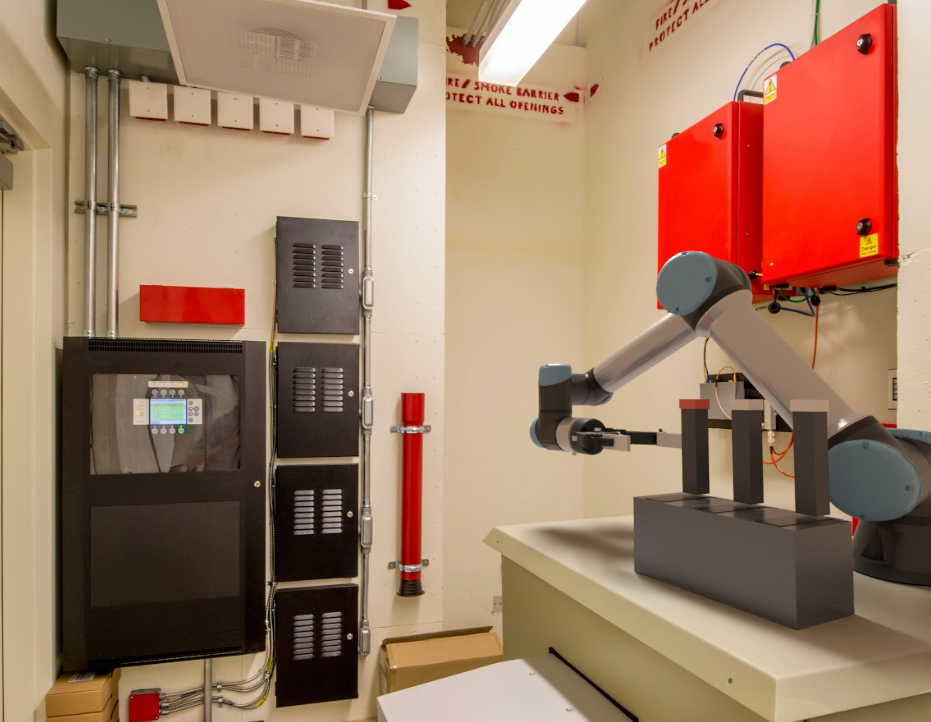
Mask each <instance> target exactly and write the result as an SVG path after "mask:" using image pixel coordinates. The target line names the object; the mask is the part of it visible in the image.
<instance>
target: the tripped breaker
mask: <svg viewBox="0 0 931 722" xmlns="http://www.w3.org/2000/svg"><path fill="white" fill-rule="evenodd" d="M710 400H711V399H709V398H705V399H704V398H679V399H678V408H679V409H680V422H681V425H680V426H681V429H680V430H681V433H680V434H681V435H682V449H681V474H682V475H681V478H682V480H681V481H682V486H681V488H682V492H683V493H689V494H694V495H701V494H704V495H709V494H711V491H710V490H711V489H710V488H711V487H710V485H711V484H710V451H709V450H710V445H709V443H710V442H709V441H710V438H709V437H710V436H709V409H711V407H710V406H711V405H710V404H711V402H710Z"/></svg>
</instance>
